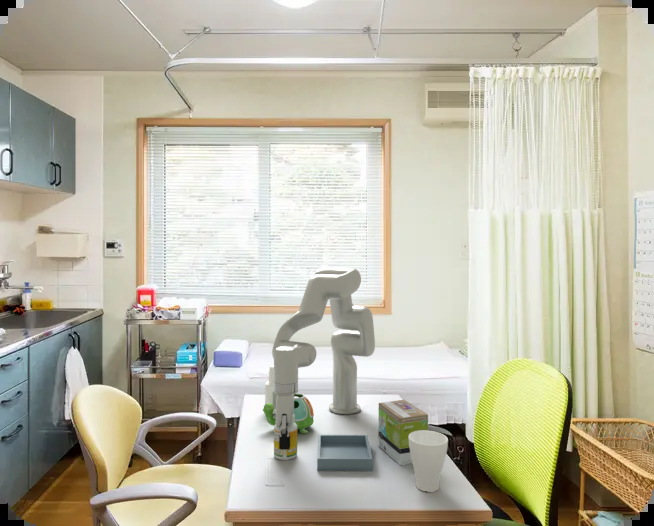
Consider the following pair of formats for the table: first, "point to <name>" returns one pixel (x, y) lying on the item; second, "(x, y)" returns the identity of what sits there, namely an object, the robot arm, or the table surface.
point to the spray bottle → (270, 390)
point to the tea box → (399, 428)
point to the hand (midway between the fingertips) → (285, 443)
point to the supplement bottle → (293, 442)
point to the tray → (344, 453)
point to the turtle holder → (301, 412)
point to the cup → (427, 458)
